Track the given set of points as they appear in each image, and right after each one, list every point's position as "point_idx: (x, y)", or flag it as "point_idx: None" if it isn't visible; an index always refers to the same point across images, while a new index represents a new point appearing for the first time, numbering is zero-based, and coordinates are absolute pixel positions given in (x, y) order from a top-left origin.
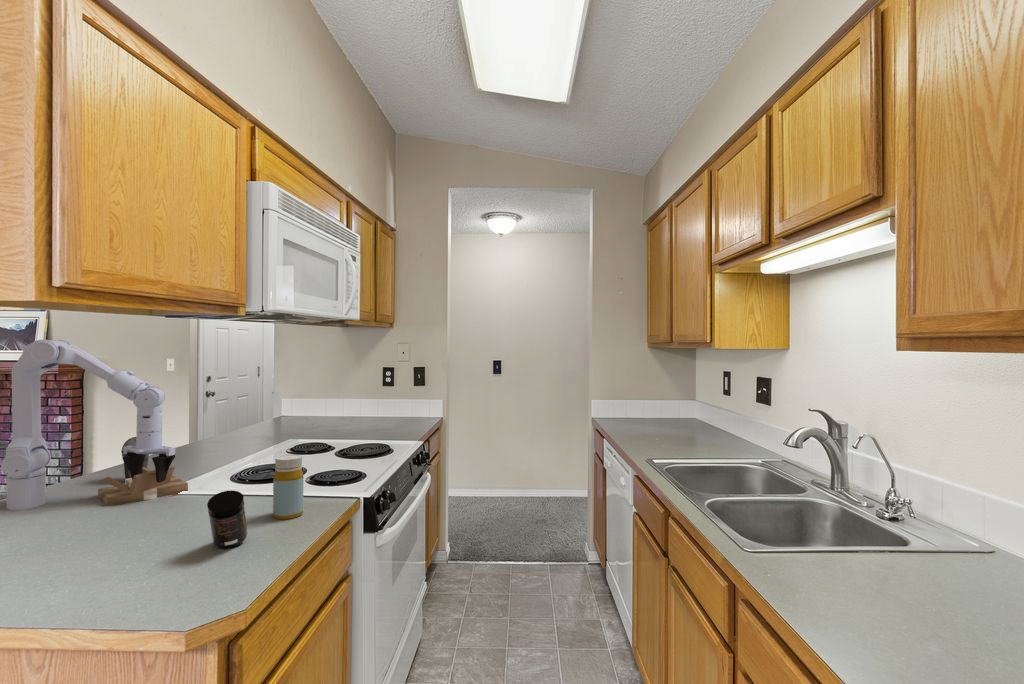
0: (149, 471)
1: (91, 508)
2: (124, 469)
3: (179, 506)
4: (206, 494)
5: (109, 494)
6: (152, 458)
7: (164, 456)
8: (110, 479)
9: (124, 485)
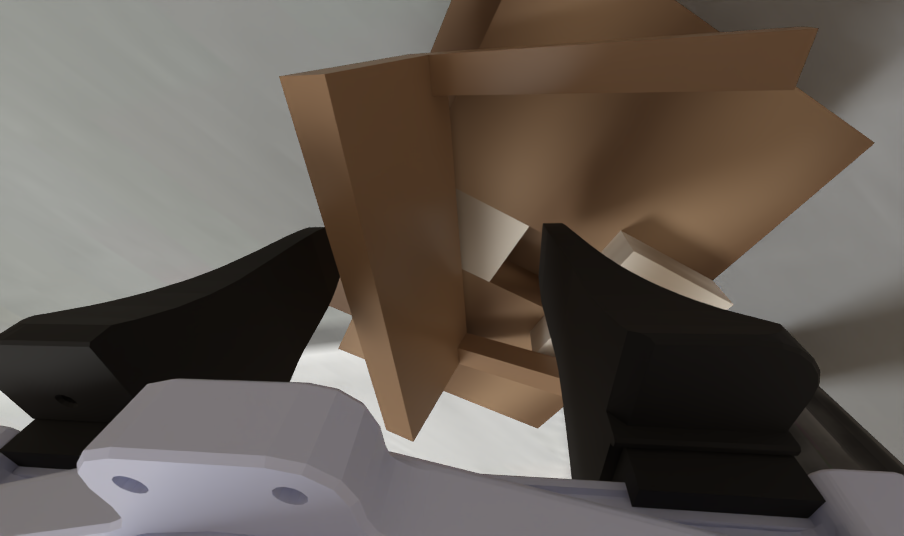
0: (372, 277)
1: (761, 4)
2: (884, 448)
3: (246, 178)
4: (327, 339)
5: (626, 9)
6: (94, 334)
7: (42, 416)
8: (715, 56)
9: (511, 80)
